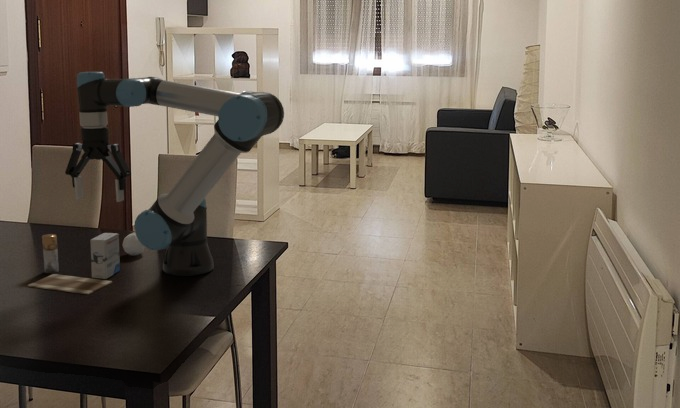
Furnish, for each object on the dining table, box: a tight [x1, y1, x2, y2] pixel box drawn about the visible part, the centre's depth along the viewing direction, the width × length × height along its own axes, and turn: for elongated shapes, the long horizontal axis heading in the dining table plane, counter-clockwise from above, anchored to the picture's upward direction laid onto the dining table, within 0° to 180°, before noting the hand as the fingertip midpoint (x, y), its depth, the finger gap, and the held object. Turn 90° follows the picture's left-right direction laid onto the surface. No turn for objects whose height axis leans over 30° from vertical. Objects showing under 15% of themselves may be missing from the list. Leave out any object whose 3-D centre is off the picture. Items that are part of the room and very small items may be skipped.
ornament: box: [122, 231, 146, 256], centre depth 239 cm, size 7×7×8 cm
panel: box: [27, 273, 113, 295], centre depth 209 cm, size 20×11×1 cm, turn 73°
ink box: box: [89, 232, 121, 280], centre depth 217 cm, size 9×5×12 cm, turn 168°
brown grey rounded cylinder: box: [41, 233, 60, 274], centre depth 220 cm, size 4×4×11 cm
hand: (99, 200), depth 214 cm, fingers open, 13 cm apart
